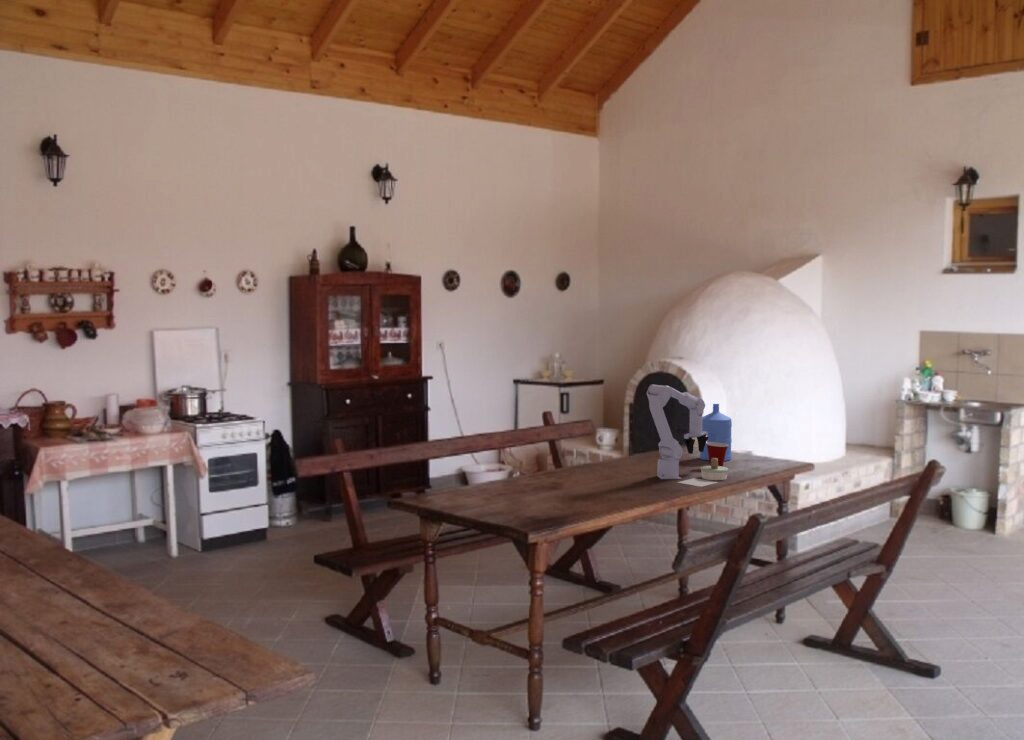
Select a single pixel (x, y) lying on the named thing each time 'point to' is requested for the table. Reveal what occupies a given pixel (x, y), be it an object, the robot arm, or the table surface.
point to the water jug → (717, 431)
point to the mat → (697, 482)
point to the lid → (714, 467)
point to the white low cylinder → (714, 475)
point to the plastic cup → (717, 451)
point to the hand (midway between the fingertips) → (695, 452)
